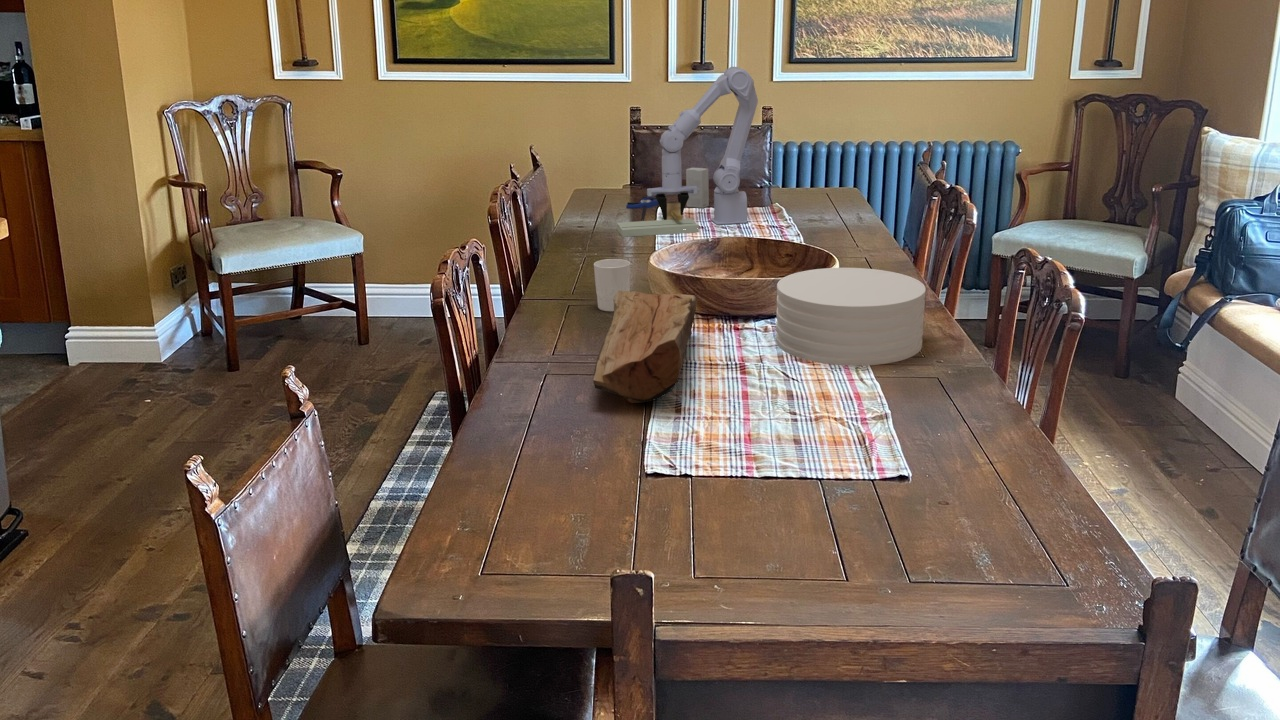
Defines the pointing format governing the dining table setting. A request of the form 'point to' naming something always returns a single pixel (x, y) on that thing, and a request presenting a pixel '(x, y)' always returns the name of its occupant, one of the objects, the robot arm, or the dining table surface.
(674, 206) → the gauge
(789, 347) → the plate stack
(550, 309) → the dining table surface
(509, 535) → the dining table surface
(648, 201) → the bar clamp
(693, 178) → the skincare box
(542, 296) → the dining table surface
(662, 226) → the board
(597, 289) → the white cup
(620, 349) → the log
